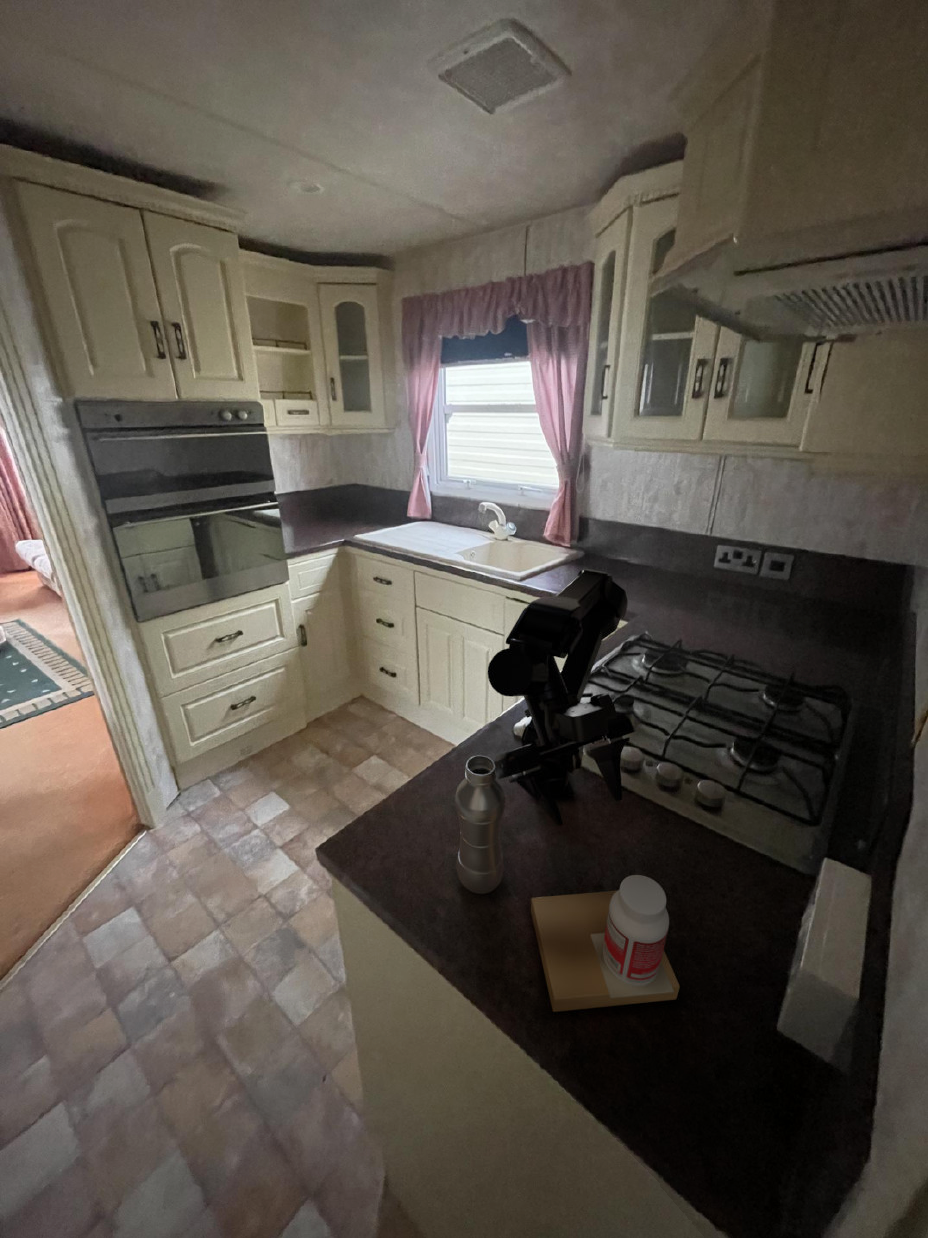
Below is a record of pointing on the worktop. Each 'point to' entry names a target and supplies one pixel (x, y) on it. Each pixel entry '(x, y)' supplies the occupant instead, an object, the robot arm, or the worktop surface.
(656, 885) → the pill bottle
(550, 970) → the labeled cardboard parcel
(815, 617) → the worktop surface
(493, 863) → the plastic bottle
